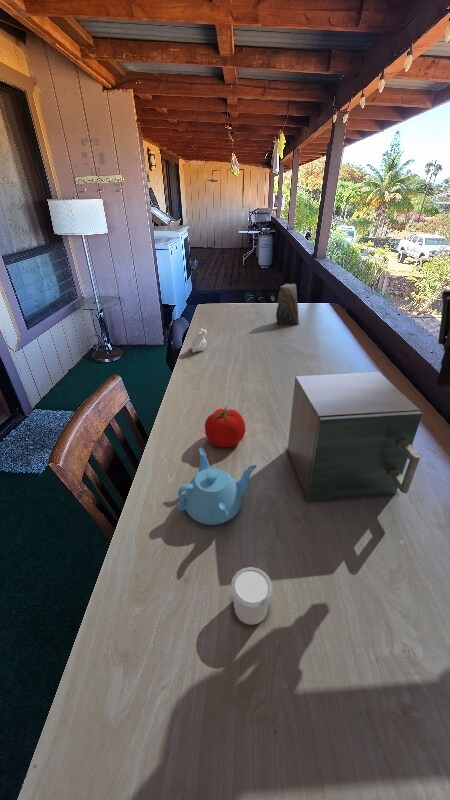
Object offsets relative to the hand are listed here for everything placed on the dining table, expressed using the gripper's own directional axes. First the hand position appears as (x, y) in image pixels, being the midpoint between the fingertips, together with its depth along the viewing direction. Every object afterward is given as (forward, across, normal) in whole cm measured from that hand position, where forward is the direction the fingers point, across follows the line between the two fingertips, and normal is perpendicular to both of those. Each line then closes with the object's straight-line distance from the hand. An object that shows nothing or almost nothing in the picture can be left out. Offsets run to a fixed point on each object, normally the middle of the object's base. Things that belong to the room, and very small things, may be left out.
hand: (445, 384), depth 68 cm
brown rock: (+30, -128, +6) cm, 132 cm away
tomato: (+30, -26, -41) cm, 57 cm away
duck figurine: (+22, -96, -44) cm, 107 cm away
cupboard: (+30, -11, -13) cm, 35 cm away
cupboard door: (+30, +2, -14) cm, 33 cm away
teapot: (+30, -3, -46) cm, 55 cm away
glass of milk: (+30, +21, -42) cm, 56 cm away
